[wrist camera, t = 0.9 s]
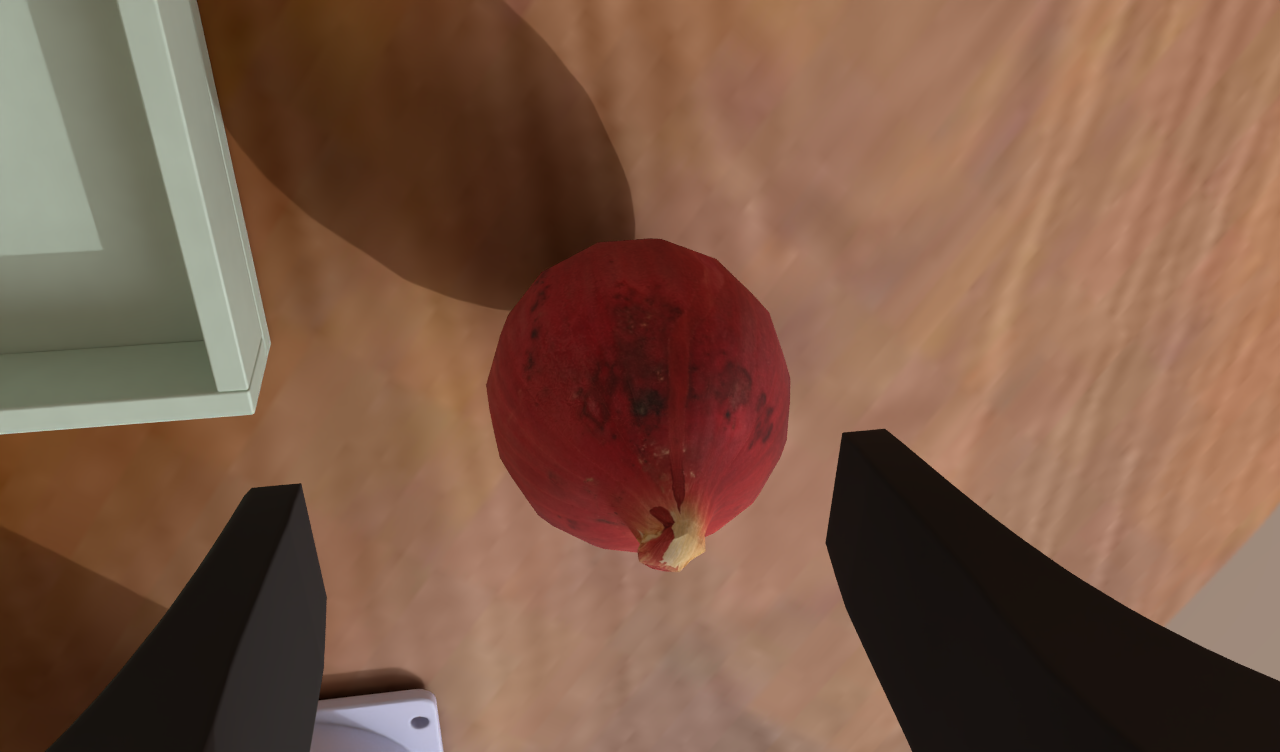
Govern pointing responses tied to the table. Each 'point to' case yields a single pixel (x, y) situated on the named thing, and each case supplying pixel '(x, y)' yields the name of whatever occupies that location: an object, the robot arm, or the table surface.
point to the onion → (639, 398)
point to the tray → (119, 223)
